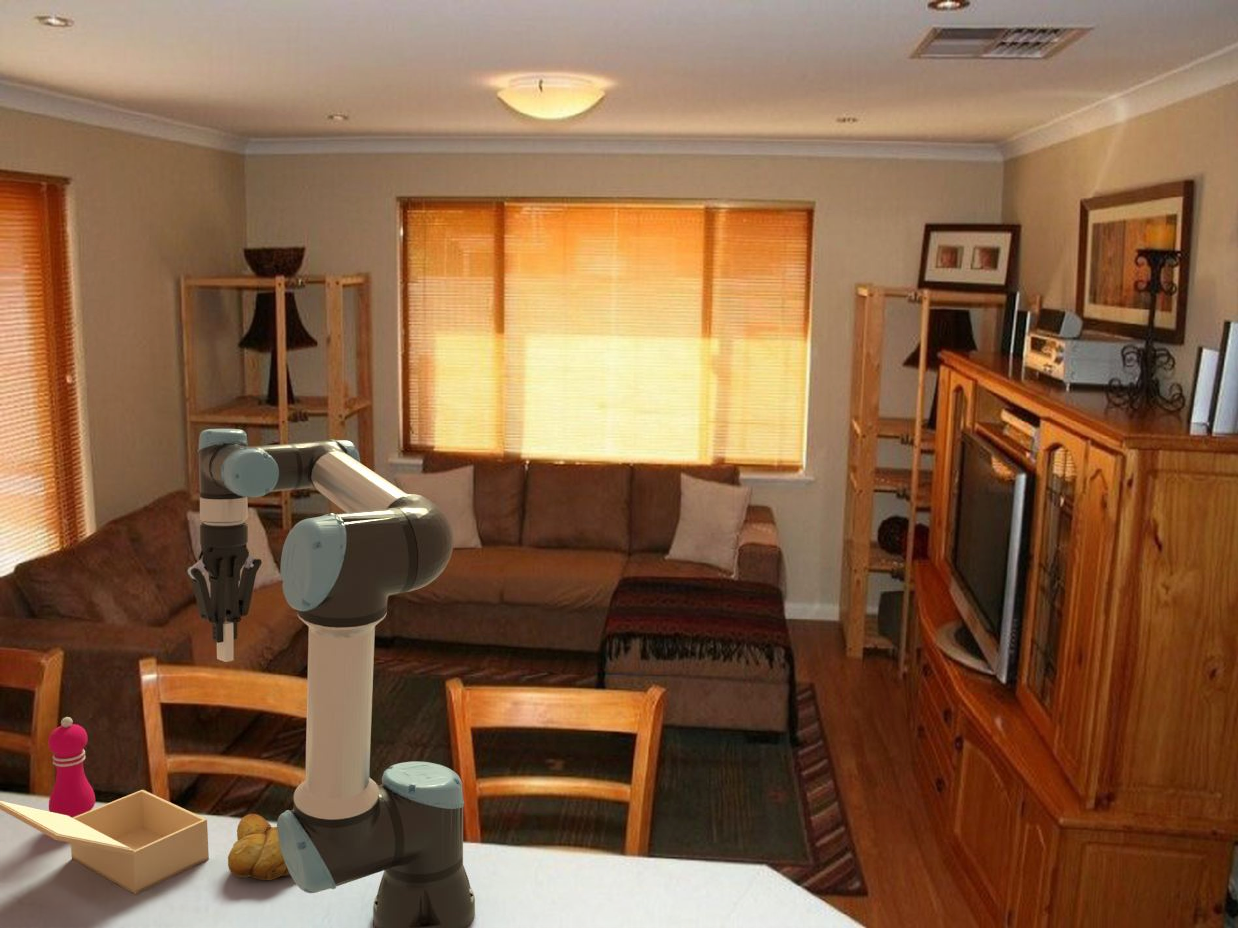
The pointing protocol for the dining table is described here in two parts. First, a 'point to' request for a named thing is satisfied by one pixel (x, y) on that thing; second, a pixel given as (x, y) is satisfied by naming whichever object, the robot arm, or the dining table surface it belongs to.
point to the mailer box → (143, 840)
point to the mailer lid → (63, 828)
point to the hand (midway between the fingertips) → (225, 659)
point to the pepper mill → (70, 771)
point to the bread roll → (257, 850)
